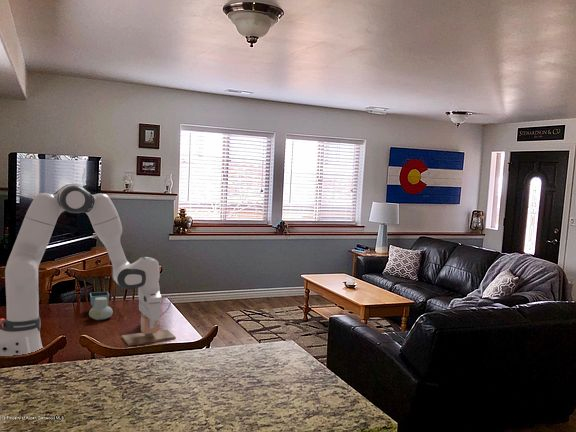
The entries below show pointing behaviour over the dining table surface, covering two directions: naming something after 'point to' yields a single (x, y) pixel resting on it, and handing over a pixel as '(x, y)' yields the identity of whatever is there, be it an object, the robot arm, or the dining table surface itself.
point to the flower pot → (98, 294)
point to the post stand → (148, 337)
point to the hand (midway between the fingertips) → (148, 325)
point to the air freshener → (100, 309)
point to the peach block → (148, 325)
